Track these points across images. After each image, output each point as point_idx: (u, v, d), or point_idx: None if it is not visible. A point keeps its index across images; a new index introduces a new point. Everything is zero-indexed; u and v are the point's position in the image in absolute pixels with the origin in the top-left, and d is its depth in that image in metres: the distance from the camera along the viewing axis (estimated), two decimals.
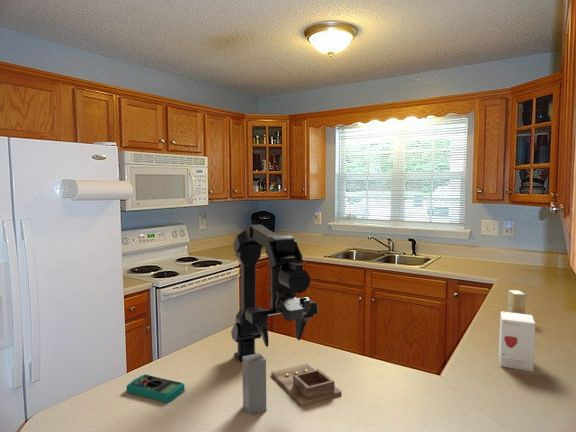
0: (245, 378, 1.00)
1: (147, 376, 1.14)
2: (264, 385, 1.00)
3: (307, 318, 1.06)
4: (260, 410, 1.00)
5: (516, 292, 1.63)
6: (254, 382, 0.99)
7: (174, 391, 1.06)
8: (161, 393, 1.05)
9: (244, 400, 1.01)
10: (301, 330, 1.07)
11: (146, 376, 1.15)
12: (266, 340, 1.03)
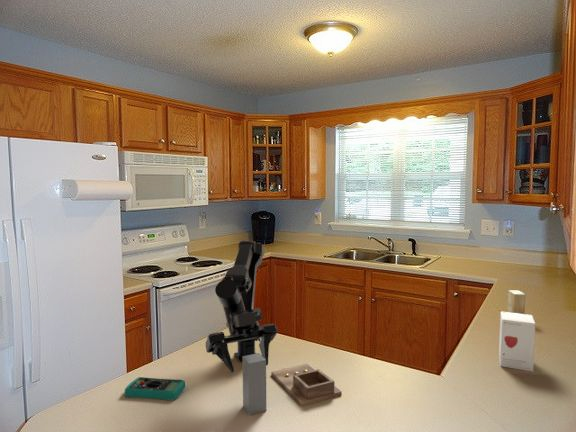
0: (245, 378, 1.00)
1: (142, 378, 1.13)
2: (264, 385, 1.00)
3: (267, 337, 1.07)
4: (260, 410, 1.00)
5: (516, 292, 1.63)
6: (254, 382, 0.99)
7: (179, 388, 1.08)
8: (167, 391, 1.06)
9: (244, 400, 1.01)
10: (266, 352, 1.06)
11: (141, 378, 1.13)
12: (230, 363, 1.01)
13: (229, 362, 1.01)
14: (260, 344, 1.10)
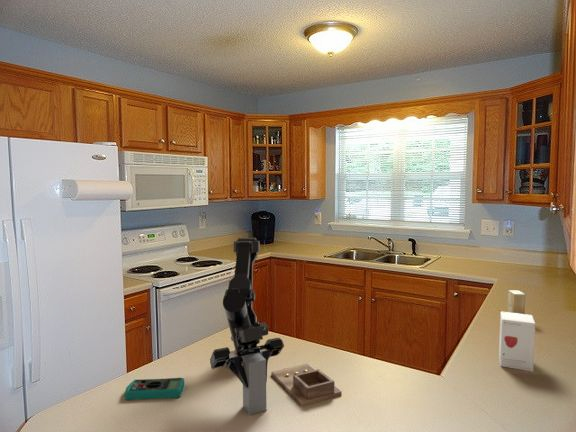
0: None
1: (138, 380, 1.12)
2: (264, 385, 1.00)
3: (266, 353, 1.03)
4: (260, 410, 1.00)
5: (516, 292, 1.63)
6: (254, 382, 0.99)
7: (181, 385, 1.09)
8: (171, 390, 1.07)
9: (244, 400, 1.01)
10: None
11: (137, 380, 1.12)
12: (244, 378, 0.99)
13: (243, 377, 0.99)
14: None
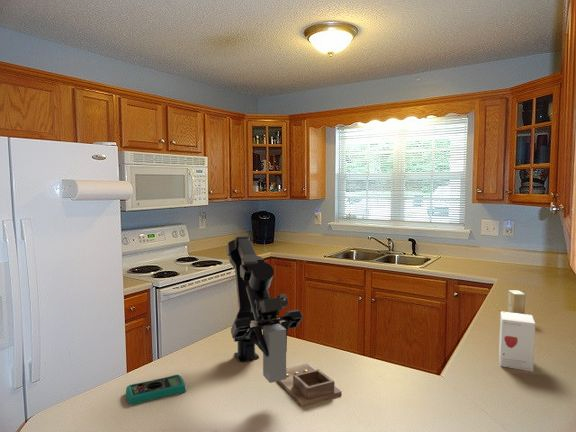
0: None
1: (134, 385, 1.09)
2: (284, 354, 1.02)
3: (286, 324, 1.05)
4: (280, 378, 1.02)
5: (516, 292, 1.63)
6: (275, 351, 1.01)
7: (183, 381, 1.12)
8: (177, 386, 1.09)
9: (264, 369, 1.03)
10: None
11: (132, 385, 1.09)
12: (265, 347, 1.01)
13: (264, 346, 1.01)
14: None
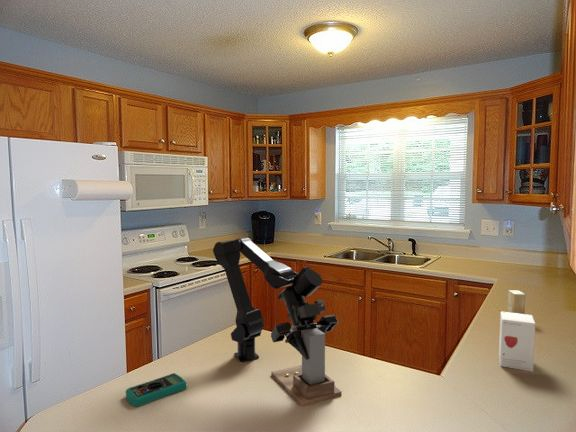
0: None
1: (133, 388, 1.08)
2: (323, 357, 1.07)
3: (323, 328, 1.11)
4: (319, 380, 1.07)
5: (516, 292, 1.63)
6: (314, 354, 1.06)
7: (182, 378, 1.13)
8: (178, 383, 1.10)
9: (303, 371, 1.09)
10: None
11: (131, 388, 1.08)
12: (305, 351, 1.06)
13: (304, 349, 1.06)
14: None
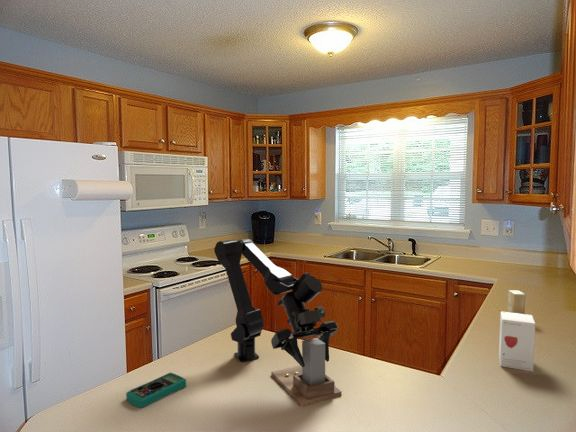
0: (306, 361, 1.07)
1: (134, 390, 1.07)
2: (323, 367, 1.07)
3: (327, 334, 1.11)
4: None
5: (516, 292, 1.63)
6: (315, 364, 1.06)
7: None
8: (179, 381, 1.11)
9: (304, 381, 1.09)
10: (326, 349, 1.10)
11: (132, 390, 1.07)
12: (300, 358, 1.06)
13: (300, 357, 1.06)
14: None
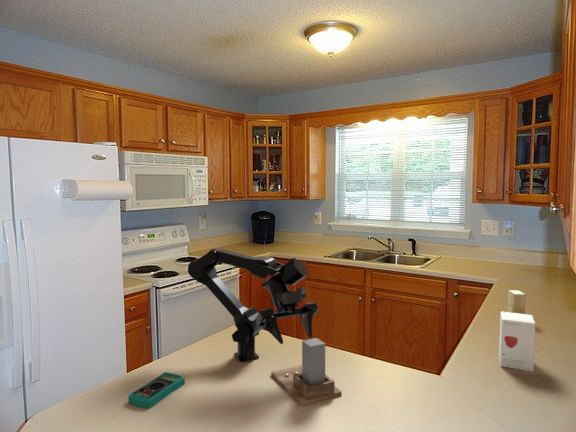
0: (306, 361, 1.07)
1: (135, 392, 1.06)
2: (323, 367, 1.07)
3: (310, 313, 1.20)
4: None
5: (516, 292, 1.63)
6: (315, 364, 1.06)
7: None
8: (179, 379, 1.13)
9: (304, 381, 1.09)
10: (310, 327, 1.18)
11: (134, 393, 1.05)
12: (279, 336, 1.13)
13: (279, 335, 1.13)
14: (303, 320, 1.22)
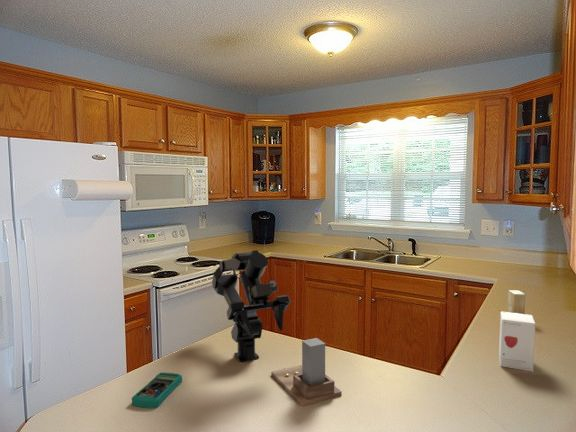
0: (306, 361, 1.07)
1: (138, 393, 1.05)
2: (323, 367, 1.07)
3: (282, 306, 1.20)
4: None
5: (516, 292, 1.63)
6: (315, 364, 1.06)
7: None
8: (177, 377, 1.14)
9: (304, 381, 1.09)
10: (281, 320, 1.19)
11: (137, 394, 1.04)
12: (249, 328, 1.14)
13: (249, 327, 1.14)
14: (275, 313, 1.23)
